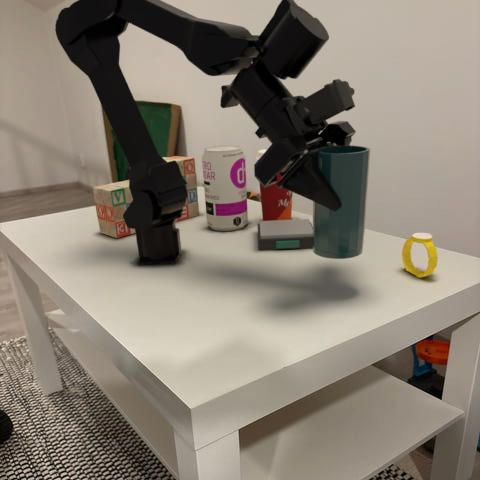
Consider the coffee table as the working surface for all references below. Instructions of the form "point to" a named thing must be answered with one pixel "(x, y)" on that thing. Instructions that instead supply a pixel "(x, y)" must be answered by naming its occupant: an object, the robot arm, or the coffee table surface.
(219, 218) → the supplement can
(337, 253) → the ceramic cup
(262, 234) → the scale
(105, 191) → the stack of blocks
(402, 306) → the coffee table surface
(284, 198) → the paper cup
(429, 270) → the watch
